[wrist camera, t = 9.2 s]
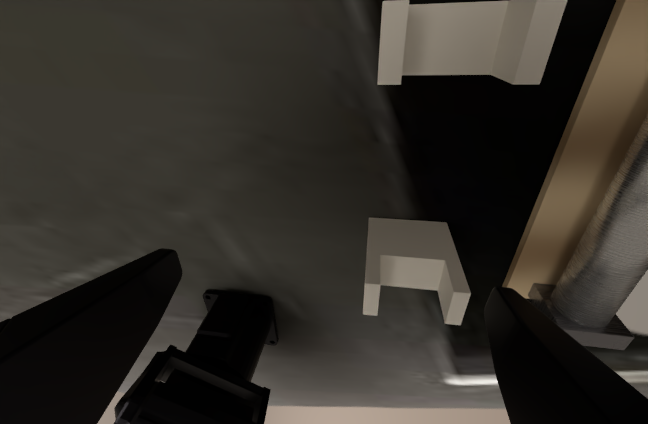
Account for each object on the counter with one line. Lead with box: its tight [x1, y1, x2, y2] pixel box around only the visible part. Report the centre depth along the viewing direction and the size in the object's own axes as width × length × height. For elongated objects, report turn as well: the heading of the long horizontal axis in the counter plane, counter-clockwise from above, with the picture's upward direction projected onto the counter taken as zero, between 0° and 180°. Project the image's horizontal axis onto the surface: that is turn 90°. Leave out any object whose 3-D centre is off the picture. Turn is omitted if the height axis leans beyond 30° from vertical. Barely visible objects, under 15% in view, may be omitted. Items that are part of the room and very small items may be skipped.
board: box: [502, 0, 648, 299], centre depth 16 cm, size 21×7×1 cm, turn 1°
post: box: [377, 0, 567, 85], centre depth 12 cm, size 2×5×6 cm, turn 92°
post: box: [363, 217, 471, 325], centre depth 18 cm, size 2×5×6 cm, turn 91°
